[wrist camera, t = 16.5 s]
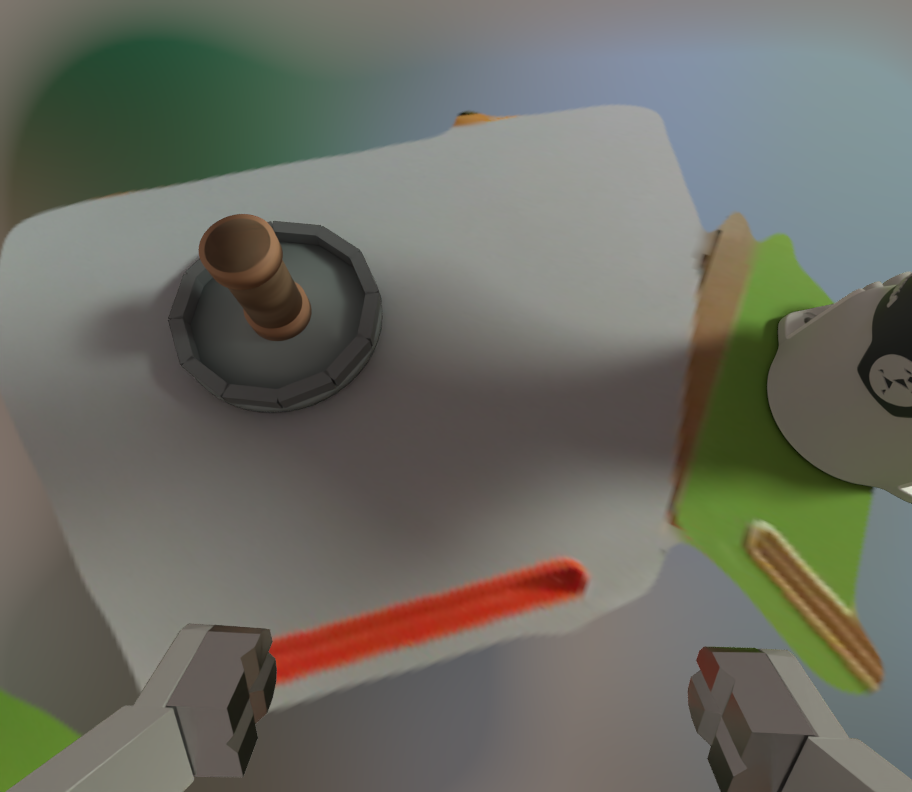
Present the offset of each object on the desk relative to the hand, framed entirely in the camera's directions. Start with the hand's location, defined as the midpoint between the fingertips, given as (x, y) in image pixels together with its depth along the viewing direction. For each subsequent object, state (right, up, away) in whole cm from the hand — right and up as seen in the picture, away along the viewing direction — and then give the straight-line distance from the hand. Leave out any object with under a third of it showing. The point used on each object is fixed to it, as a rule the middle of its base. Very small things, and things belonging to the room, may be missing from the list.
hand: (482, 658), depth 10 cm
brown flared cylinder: (-17, +13, +37) cm, 43 cm away
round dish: (-17, +12, +38) cm, 43 cm away
